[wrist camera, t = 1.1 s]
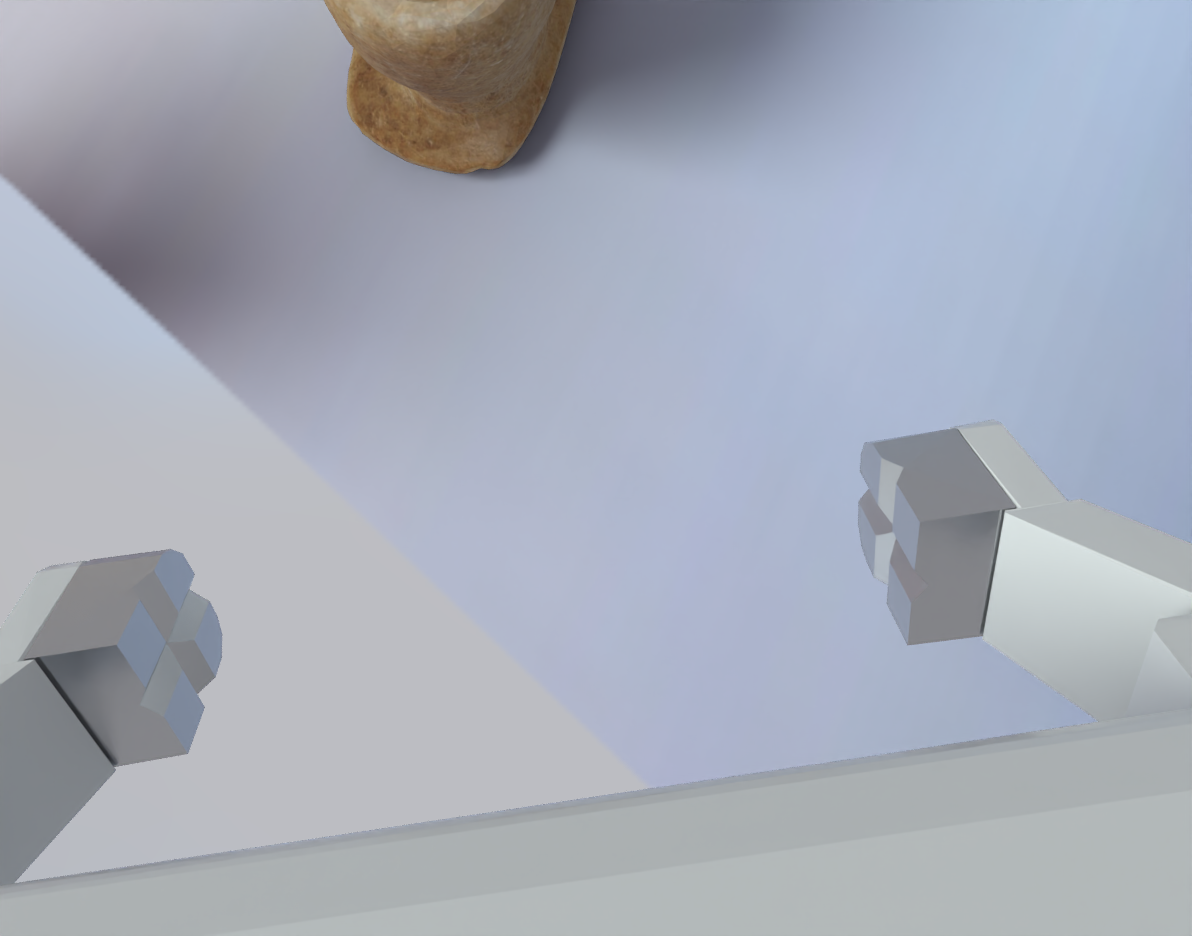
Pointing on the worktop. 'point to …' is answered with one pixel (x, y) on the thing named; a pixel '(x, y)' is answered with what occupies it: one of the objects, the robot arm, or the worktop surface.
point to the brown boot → (451, 75)
